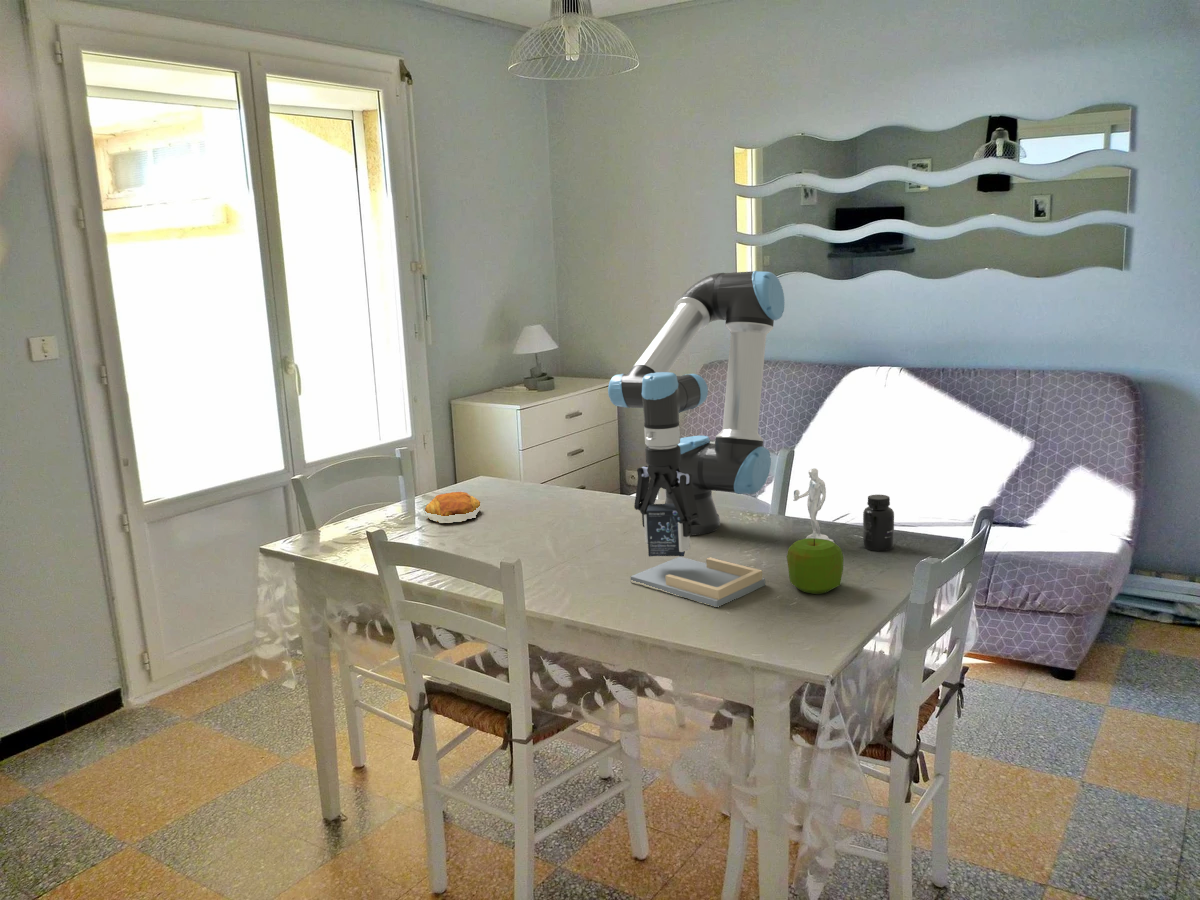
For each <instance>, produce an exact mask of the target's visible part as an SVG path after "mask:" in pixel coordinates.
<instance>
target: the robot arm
mask: <svg viewBox="0 0 1200 900" xmlns="http://www.w3.org/2000/svg"><path fill="white" fill-rule="evenodd" d="M784 312H785V293H784V289H783V286H782V283H781V281H780V279H779V278H778V276H777V275H776V274H774V273H773V272H771V271H759V270H753V271H737V272H716V273H712V274H710V275H708V276H705V277H703V278H701V279H700V280H698V281H697V282H696V283H694V284H693V285H692V286H690V287H689V288H687V289H686V291H684V292H683V293H682V295H681V296H679V298H678V299H677V300H676V302H675V303H674V306H673V313H672V315H671V316H669V318H668V320H667V321H666V322H665V324H664V325H663V326H662V327H661V329H659V331H658V333H657V334H656V336H655V337H654V338H653V340H652V341H651V342H650V344H649V345H648V346H647V347H646V349H645V350H644V352H643V353H642V354H641V355H640V356H639V358H638V359H637V361H636V362H635V363H634V365H633V366H632V368H631V369H630V370H629V372H628V373H626V374H625V373H621V374H620V373H619V374H615V375H613V376H612V377H611V379H610V380H609V383H608V388H607V394H608V398H609V400H610V403H612V405H614V406H615V407H621V408H626V409H642V410H643V412H642V413H643V426H644V427H643V429H644V430H643V431H644V443H645V445H646V447H645V449H644V453H645V464H646V465H645V466H641V467H637V472H636V473H637V484H636V492H635V499H634V506H633V507H634V510H636V511H637V510H638V511H640V514H641V519H642V520H641V521H642V527H643V528H644V542H645V544H647V545H648V532H647V509H648V506H649V504H656V503H655V502H656V499H657V498H658V495H659V491H660V489H662V490H665V502H664V504H674V505H675V508H676V510H677V513H678V515H679V517H680V520H681V521H679V522H678V536H679V552H684V551H685V552H686V551H689V550H691V536H699V535H706V534H709V533H712V532H715V531H716V530H718V529H719V528H720V527H721V520H720V519H721V518H720V515H719V513H718V511H717V509H716V505H715V502H714V500H713V499H714V498H713V494H712V492H724V493H729V494H730V493H733V494H736V495H747V494H748V495H753V494H756V493H758V492H760V491H761V490H762V489H763V487H764V485H765V484H766V483H767V481H768V478H769V475H770V471H771V467H772V466H771V465H772V458H771V453H770V451H769V449H768V448H767V447H765V446H764V439H763V437H762V436H761V435H760V434H759V422H760V411H761V399H762V386H763V375H764V362H765V352H766V343H767V341H766V339H767V335H768V334H769V333H770V332H771V331H772V330H774V321H778V320H780V319H781V318H782V317H783V314H784ZM715 321H725V327H726V329H728V331H729V332H730V339H729V350H728V364H727V374H726V375H727V376H726V384H725V385H726V386H725V397H724V409H723V421H722V430H721V431H720V432H719V433H717V434H716V435H715V441H714V443H711V439H710V437H709V436H708V435H693V436H685V437H681V434H680V413H683V412H686V411H690V410H694V409H696V408H697V407H699V406H700V405H702V404H703V403H704V402H706V399H707V397H708V395H709V394H708V393H709V387H708V385H707V382H706V380H705V379H704V378H703V377H702V376H701V375H699V374H697V373H685V374H683V375H677V374H676V373H674V372H670V371H671V370H672V368H673V367H674V366H675V364H676V362H677V361H678V360H679V358H680V357H681V356H682V354H683V353H684V351H685V350H686V349H687V347H688V346H689V345H690V343H691V342H692V340H693V339H694V338H695V336H696V335H697V334H698V332H699V331H703V330H704V329H705V328H707V326H708V325H709V324H710V323H711V322H715Z"/></svg>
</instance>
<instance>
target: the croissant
mask: <svg viewBox="0 0 1200 900" xmlns="http://www.w3.org/2000/svg"><path fill="white" fill-rule="evenodd" d="M480 503H481V501H480V500H478V499H477V498H476V497H474V496H473V495H470V494H469V493H468V492H465V491H452V492H448V493H441V494H437V495H435V496H434V498H433V499H432V500H431V501H429V503H428V504H427V505H426V506H425V508H424V512H425V511H426V512H427V513H431V514H437V515H441V516H449V515H455V514H466V513H469V512H473V511H474V510H476V508H478V507H479V506H480Z"/></svg>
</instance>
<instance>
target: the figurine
mask: <svg viewBox="0 0 1200 900" xmlns="http://www.w3.org/2000/svg"><path fill="white" fill-rule="evenodd" d="M808 475H809V476H808V477H809V478H810V481H809V483H808V484H809V485H808V489H807V490H806V492H804V493H802V494H801V495H800V492H801V491H800V490H799V489H795V490H794V491H793V498H794V499H792V500H793V502H797V501H798V500H799V499H802V498H805V497H807V504H806V505H807V510H808V514H809V518H810V525H811V529H812V533H811V534H808V535H807V536H806V538H817V539H825V540H829V541H832V542H834V543H835V544H836V542H835V540H834V539H831V538H829V536H828V535H826V534H822V533H821V529H820V523H819V521H818V519H817V515H818V512H819V511H821V509H822V507H823V505H824V503H825V501H826V498H827V494H826V493H827V487H826V483H825V481H824V480H823V479H822V478H821V477H819V470H818V469H817V468H811V469H809V470H808ZM821 495H822V497H821ZM806 538H804V539H806Z"/></svg>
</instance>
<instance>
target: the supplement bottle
mask: <svg viewBox="0 0 1200 900" xmlns="http://www.w3.org/2000/svg"><path fill="white" fill-rule="evenodd" d="M890 501H891V499H890V496H888V495H886V494H871V495H868V496H867V503H866V505H867V507H865V508H864V510H863V512H862V513H863V514H862V517H863V518H862V519H863V520H862V545H863V548H865V549H866V550H870V551H874V552H886V551H890V550H892V549H893V548H894V545H895V512H894V510H893V508H891V507H890V505H891V502H890Z"/></svg>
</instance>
